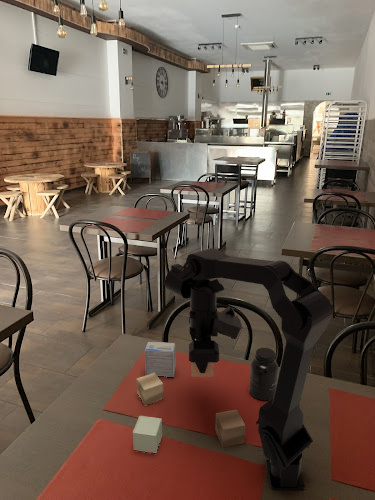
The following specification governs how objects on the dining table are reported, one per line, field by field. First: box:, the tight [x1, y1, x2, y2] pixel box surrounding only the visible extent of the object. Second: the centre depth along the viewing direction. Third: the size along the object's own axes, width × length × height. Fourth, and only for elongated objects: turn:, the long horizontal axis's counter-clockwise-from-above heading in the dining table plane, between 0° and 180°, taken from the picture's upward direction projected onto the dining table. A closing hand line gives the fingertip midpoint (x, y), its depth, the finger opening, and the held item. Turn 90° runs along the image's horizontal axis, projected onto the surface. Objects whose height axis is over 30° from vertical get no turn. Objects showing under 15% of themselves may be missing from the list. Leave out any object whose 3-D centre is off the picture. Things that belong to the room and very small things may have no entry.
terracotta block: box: [190, 362, 215, 378], centre depth 91 cm, size 5×5×5 cm
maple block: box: [136, 373, 164, 406], centre depth 99 cm, size 5×5×5 cm
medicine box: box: [144, 341, 177, 378], centre depth 108 cm, size 8×4×9 cm, turn 84°
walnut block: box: [214, 409, 246, 449], centre depth 87 cm, size 5×5×5 cm
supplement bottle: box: [249, 347, 279, 401], centre depth 100 cm, size 7×7×12 cm
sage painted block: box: [132, 415, 163, 453], centre depth 85 cm, size 5×5×5 cm
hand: (202, 365), depth 91 cm, fingers closed on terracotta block, 5 cm apart
